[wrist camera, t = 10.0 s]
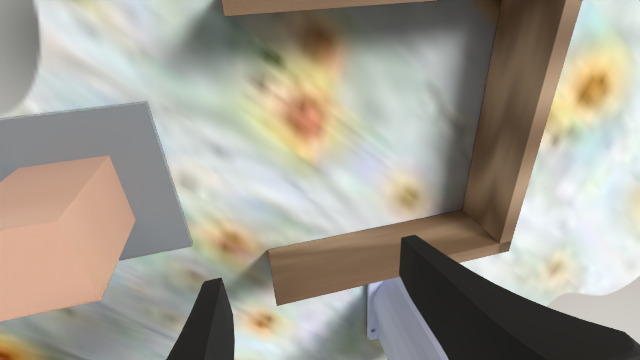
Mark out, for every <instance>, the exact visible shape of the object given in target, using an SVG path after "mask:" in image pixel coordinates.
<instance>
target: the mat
mask: <svg viewBox="0 0 640 360" xmlns="http://www.w3.org/2000/svg"><path fill="white" fill-rule="evenodd" d="M108 155H109V156H110V159H111V161H112V164H113V166H114V169H115V171H116V173H117V176H118V178H119V181H120V183H121V186H122V188H123V190H124V193H125V195H126V198H127V200H128V203H129V205H130V207H131V210H132V212H133V215H134V217H135V223H134V225H133V227H132V230H131V232H130V234H129V237H128V239H127V241H126V244H125V246H124V248H123V251H122V253H121V255H120V257H119V260H123V259H128V258H134V257H139V256H144V255H149V254H154V253H159V252H164V251H170V250H175V249H180V248H185V247H190V246H192V244H193V242H192V239H191V236H190V233H189V230H188V226H187V223H186V220H185V217H184V214H183V211H182V208H181V205H180V202H179V198H178V195H177V192H176V189H175V186H174V183H173V180H172V177H171V174H170V170H169V167H168V164H167V161H166V158H165V155H164V152H163V149H162V146H161V142H160V139H159V136H158V133H157V130H156V127H155V124H154V121H153V118H152V114H151V111H150V108H149V105H148V102H147V101H146V102H137V103H128V104H120V105H111V106H102V107H94V108H85V109H76V110H68V111H59V112H50V113H42V114H33V115H24V116H16V117H7V118H0V182H1V181H2V180H4V179H5V178H6V177H8V176H9V175H10V174H11V173H13V172H14V171H15V170H16V169H18V168H22V167H29V166H36V165H43V164H50V163H58V162H65V161H72V160H79V159H86V158H93V157H101V156H108Z"/></svg>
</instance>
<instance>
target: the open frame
mask: <svg viewBox="0 0 640 360" xmlns="http://www.w3.org/2000/svg"><path fill="white" fill-rule="evenodd" d="M421 1H435V0H222V5H223V11H224V16H234V15H247V14H261V13H274V12H287V11H301V10H314V9H327V8H341V7H354V6H368V5H381V4H394V3H408V2H421ZM581 3H582V0H502V1H501V6H500V12H499V17H498V22H497V28H496V33H495V38H494V44H493V49H492V54H491V60H490V65H489V70H488V76H487V81H486V86H485V92H484V97H483V102H482V108H481V113H480V118H479V124H478V129H477V134H476V140H475V145H474V150H473V156H472V161H471V166H470V172H469V177H468V182H467V188H466V193H465V198H464V204H463V209H462V210H460V211H455V212H450V213H445V214H440V215H435V216H431V217H426V218H421V219H416V220H411V221H406V222H401V223H396V224H391V225H387V226H382V227H377V228H372V229H367V230H362V231H357V232H352V233H347V234H343V235H338V236H333V237H328V238H323V239H318V240H313V241H308V242H303V243H299V244H294V245H289V246H284V247H279V248H274V249H269V250H268V254H269V260H270V266H271V273H272V279H273V286H274V292H275V298H276V304H277V306H279V305H283V304H287V303H291V302H296V301H300V300H304V299H308V298H313V297H317V296H321V295H325V294H329V293H334V292H338V291H342V290H346V289H351V288H355V287H359V286H363V285H367V284H372V283H376V282H380V281H384V280H389V279H393V278H397V277H400V275H399V266H400V249H401V238H402V237H406V236H410V235H417V236H418V237H420V238H421V239H423V240H424V241H426V242H427V243H429V244H430V245H432V246H433V247H435V248H436V249H438V250H439V251H441V252H442V253H444V254H445V255H447V256H448V257H450V258H451V259H453V260H455V261H456V262H458V263H461V262H465V261H469V260H473V259H477V258H482V257H486V256H490V255H494V254H499V253H503V252H507V251H509V248H510V245H511V241H512V238H513V234H514V231H515V228H516V224H517V221H518V217H519V214H520V211H521V207H522V204H523V200H524V197H525V194H526V190H527V187H528V183H529V180H530V177H531V173H532V170H533V166H534V163H535V160H536V156H537V153H538V149H539V146H540V143H541V139H542V136H543V132H544V129H545V126H546V122H547V119H548V115H549V112H550V109H551V105H552V102H553V98H554V95H555V91H556V88H557V85H558V81H559V78H560V74H561V71H562V68H563V64H564V61H565V57H566V54H567V51H568V47H569V44H570V40H571V37H572V34H573V30H574V27H575V23H576V20H577V17H578V13H579V10H580V6H581Z"/></svg>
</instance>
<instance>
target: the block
mask: <svg viewBox="0 0 640 360" xmlns="http://www.w3.org/2000/svg"><path fill="white" fill-rule="evenodd" d="M134 223H135V217H134V215H133V212H132V210H131V207H130V205H129V203H128V200H127V198H126V195H125V193H124V190H123V188H122V186H121V183H120V181H119V178H118V176H117V173H116V171H115V169H114V166H113V164H112V161H111V159H110V156H109V155H108V156H101V157H93V158H86V159H79V160H72V161H65V162H58V163H50V164H43V165H36V166H29V167H22V168H18V169H16V170H15V171H14V172H13V173H11V174H10V175H9V176H8V177H6V178H5V179H4V180H2V181H1V182H0V321H5V320H9V319H14V318H19V317H24V316H28V315H33V314H38V313H42V312H47V311H52V310H57V309H61V308H66V307H71V306H76V305H80V304H85V303H90V302H94V301H99V300H101V299H102V297H103V295H104V292H105V290H106V288H107V285H108V283H109V281H110V278H111V276H112V274H113V271H114V269H115V267H116V264H117V262H118V260H119V257H120V255H121V253H122V251H123V248H124V246H125V244H126V241H127V239H128V237H129V234H130V232H131V230H132V227H133V225H134Z"/></svg>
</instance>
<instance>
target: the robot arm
mask: <svg viewBox="0 0 640 360" xmlns="http://www.w3.org/2000/svg"><path fill="white" fill-rule="evenodd" d="M399 275H400V277H397V278H393V279H389V280H384V281H380V282H376V283H372V284H368V300H367V337H368V339H369V340H375V339H379V341H380V344H381V346H382V348H383V350H384V353H385V355H386V357H387V359H388V360H640V344H638V343H637V342H636V341H635V340H634V339H632V338H631V337H630V336H629V335H627V334H626V333H625V332H623V331H619V330H616V329H613V328H609V327H606V326H602V325H599V324H595V323H592V322H588V321H585V320H582V319H579V318H576V317H573V316H570V315H567V314H564V313H562V312H559V311H556V310H553V309H550V308H548V307H546V306H543V305H541V304H538V303H536V302H533V301H531V300H528V299H526V298H524V297H522V296H519V295H517V294H515V293H513V292H511V291H509V290H507V289H504V288H502V287H500V286H498V285H496V284H494V283H492V282H491V281H489V280H487V279H485V278H483V277H481V276H480V275H478V274H476V273H474V272H473V271H471V270H469V269H468V268H466V267H464V266H463V265H461V264H459V263H458V262H456V261H455V260H453V259H451V258H450V257H448V256H447V255H445V254H444V253H442V252H441V251H439V250H438V249H436V248H435V247H433V246H432V245H430V244H429V243H427V242H426V241H424V240H423V239H421V238H420V237H418V236H417V235H410V236H406V237H402V238H401V249H400V266H399ZM234 343H235V340H234V323H233V313H232V310H231V307H230V303H229V300H228V297H227V294H226V290H225V287H224V284H223V280H222V278H218V279H213V280H209V281H205V282H204V283H203V284H202V287H201V290H200V292H199V295H198V297H197V299H196V302H195V304H194V306H193V309H192V311H191V313H190V315H189V317H188V319H187V321H186V323H185V325H184V327H183V329H182V332H181V334H180V335H179V337H178V339H177V341H176V343H175V345H174V346H173V348H172V350H171V352H170V354H169V356H168V357H167V359H166V360H234Z"/></svg>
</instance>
